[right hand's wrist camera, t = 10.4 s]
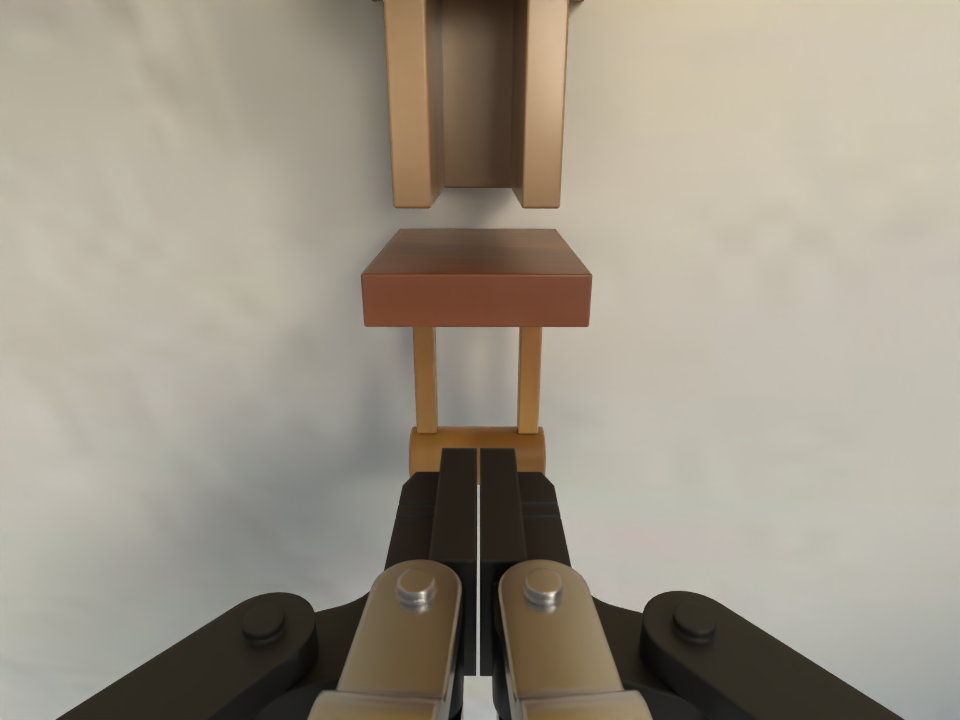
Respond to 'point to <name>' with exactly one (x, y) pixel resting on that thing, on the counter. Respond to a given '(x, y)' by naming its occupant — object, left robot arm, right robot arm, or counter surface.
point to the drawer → (476, 164)
